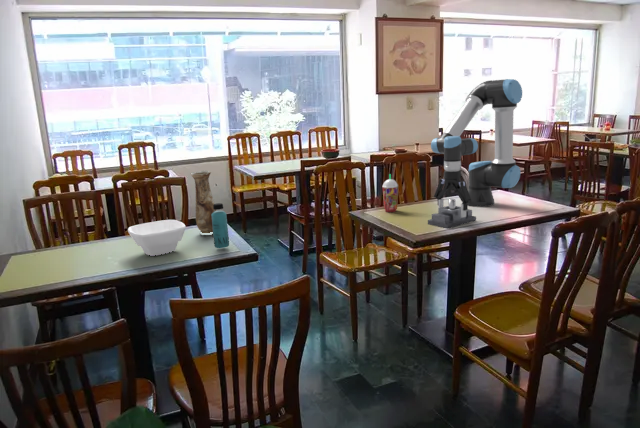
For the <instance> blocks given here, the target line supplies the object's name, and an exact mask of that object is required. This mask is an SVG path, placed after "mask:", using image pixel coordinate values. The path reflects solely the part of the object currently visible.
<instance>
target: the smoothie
mask: <svg viewBox="0 0 640 428" xmlns="http://www.w3.org/2000/svg"><path fill="white" fill-rule="evenodd" d="M388 176H389V178H388V179H386V180H385V181H384V182H383V184H382V195H383V196H382V198H383V207H384V210H385V213H395V212H397V209H398V201H399V200H398V196H399V184H398V183H397V181H396V180H395V179H392V177H391V176H392V175H391V173H389V174H388Z"/></svg>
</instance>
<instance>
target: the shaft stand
mask: <svg viewBox="0 0 640 428" xmlns="http://www.w3.org/2000/svg"><path fill="white" fill-rule="evenodd" d="M448 206H449V209H450V210H455V206H456V199H454V198H449V199H448ZM476 221H477V216H474V215H473V210H472V209H467V210H466V218H465V219H461V220H457V221H454V222H453V221H449V216H447V215H442V214H438V212H435V213H431V219H428V220H427V225H430V226H435V227H438V228H439V227H440V228H442V227H443V228H444V229H447V230H448V229H451V227H452V228H455V227H458V226H463V225H467V224H469V223H473V222H476Z"/></svg>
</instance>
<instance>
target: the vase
mask: <svg viewBox="0 0 640 428" xmlns="http://www.w3.org/2000/svg"><path fill="white" fill-rule="evenodd" d="M211 173H212V171H211V170H210V171H209V170H201V171H196V172H191V173H190V175H191V177H192V178H193V179H194V184H195V222H196V223H195V224H196V227H197V229H198V230H200V232H202V233H210V232H213V226H212V216H211V215H212V213H213V212H215V211H217V210H214V209H213V205H214V204H215V201H214V200H215V199H214V197H213V194H212V191H211V186H210V181H209V179H210V175H211Z"/></svg>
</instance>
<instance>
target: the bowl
mask: <svg viewBox="0 0 640 428" xmlns="http://www.w3.org/2000/svg"><path fill="white" fill-rule="evenodd" d="M186 227H187V226H186V225H185V223H184V222H182V221H180V220H176V219H165V220H164V219H163V220H157V221H151V222H144V223H139V224H136V225H132V226H129V227H128V228H127V232H128V234H129V235H130V237H131V238H132V240H133V241H134V243H135V244H136V245H137V246H139V247H140V248H141V249H142V251H143V253H144V254H146V255H147V256H149V255H150V257H154V256H155V255H156V256H160V255H161V254H162V255H165V253H166V254H169V252H170V253H173V252H172V251H174V252H176V250H177V247H178V245H179V242H181V241H182V239H183V237H184V234H185V231H186ZM162 255H161V256H162Z"/></svg>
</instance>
